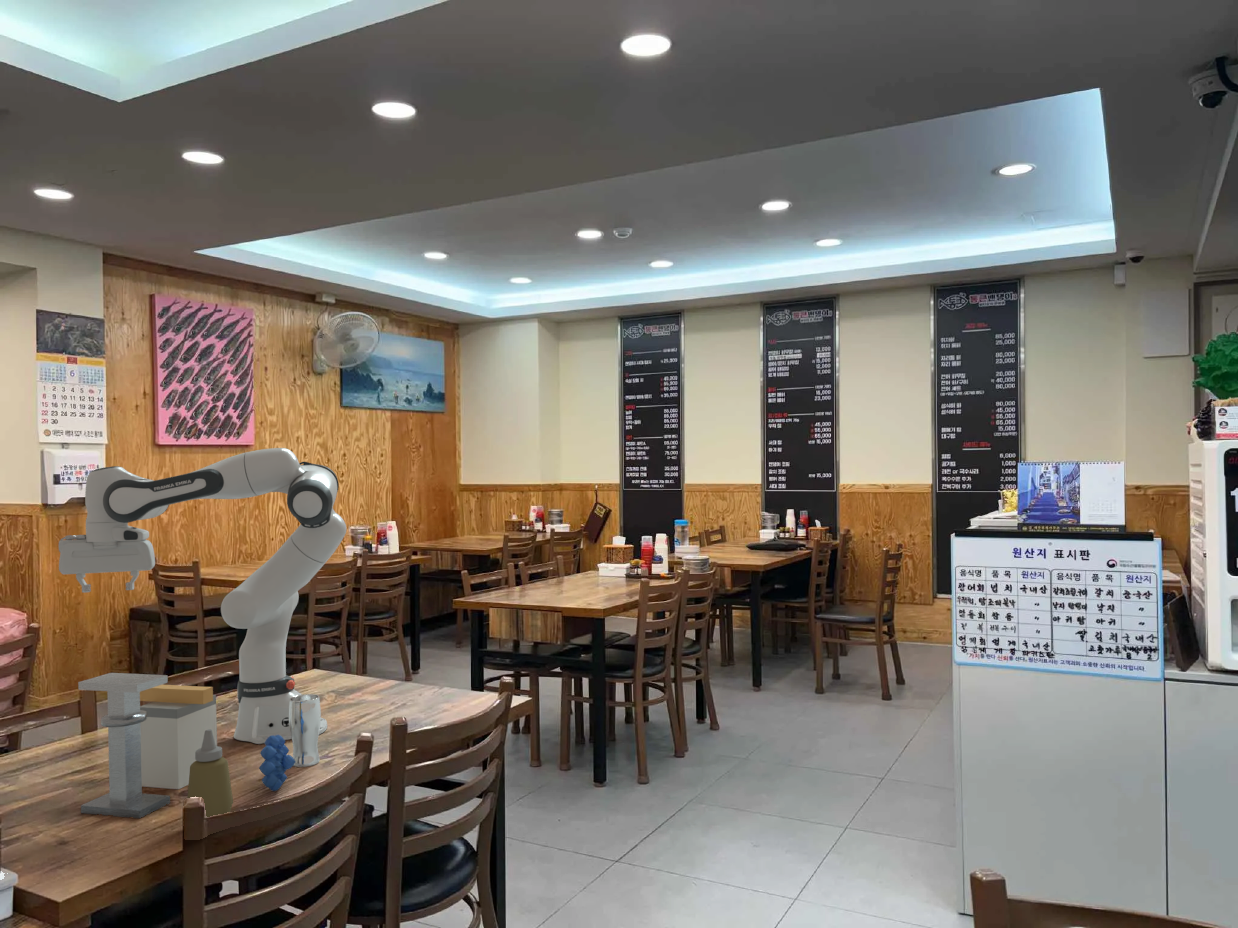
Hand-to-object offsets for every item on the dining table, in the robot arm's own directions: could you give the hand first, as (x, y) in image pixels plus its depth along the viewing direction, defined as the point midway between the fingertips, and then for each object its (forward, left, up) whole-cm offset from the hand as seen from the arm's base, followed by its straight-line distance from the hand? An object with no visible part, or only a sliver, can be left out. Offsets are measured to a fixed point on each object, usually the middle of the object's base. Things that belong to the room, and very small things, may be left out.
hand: (108, 590), depth 214 cm
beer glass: (-46, +24, -39) cm, 65 cm away
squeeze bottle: (-31, +56, -39) cm, 75 cm away
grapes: (-42, +41, -39) cm, 71 cm away
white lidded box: (-20, +25, -39) cm, 51 cm away
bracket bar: (-18, +24, -22) cm, 37 cm away
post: (-13, +41, -39) cm, 58 cm away
